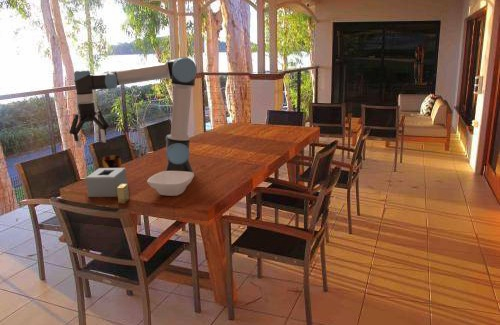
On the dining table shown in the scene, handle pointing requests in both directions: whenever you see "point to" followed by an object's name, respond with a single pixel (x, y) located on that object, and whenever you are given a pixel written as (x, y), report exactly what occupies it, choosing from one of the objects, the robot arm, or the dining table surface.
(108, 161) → the mug
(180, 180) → the bowl
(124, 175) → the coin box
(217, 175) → the dining table surface
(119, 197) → the token
